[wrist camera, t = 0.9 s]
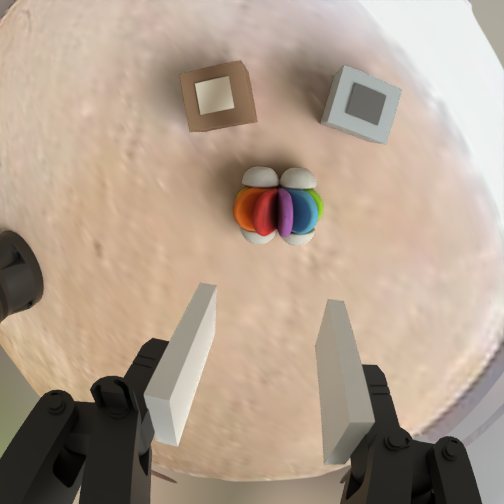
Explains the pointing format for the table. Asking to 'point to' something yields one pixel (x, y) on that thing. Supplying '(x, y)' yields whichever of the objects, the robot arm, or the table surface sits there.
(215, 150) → the table surface
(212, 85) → the walnut block
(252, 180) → the rainbow segmented toy
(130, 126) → the table surface
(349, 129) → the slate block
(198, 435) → the table surface
